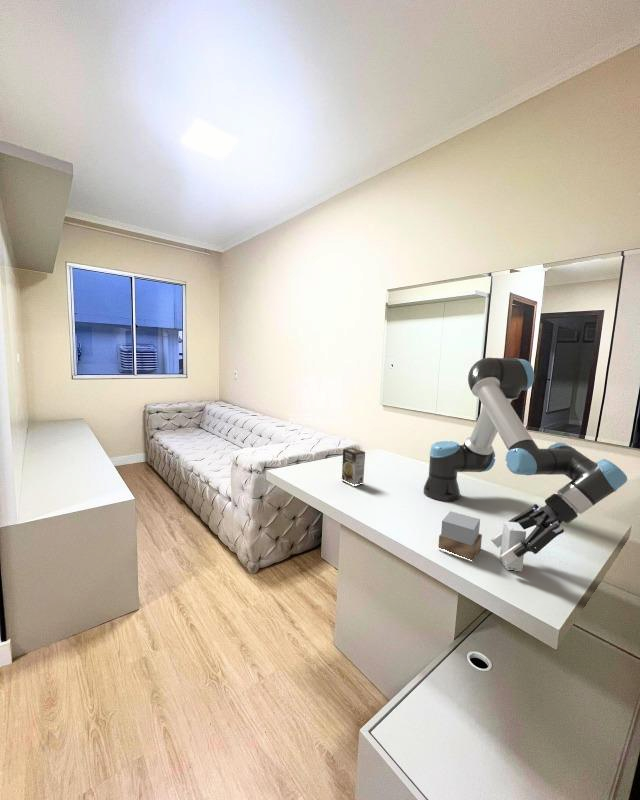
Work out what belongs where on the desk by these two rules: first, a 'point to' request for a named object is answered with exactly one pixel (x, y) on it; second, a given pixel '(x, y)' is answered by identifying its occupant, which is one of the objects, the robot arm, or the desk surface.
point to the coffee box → (353, 465)
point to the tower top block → (460, 528)
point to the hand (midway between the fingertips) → (499, 551)
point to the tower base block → (461, 547)
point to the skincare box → (512, 543)
